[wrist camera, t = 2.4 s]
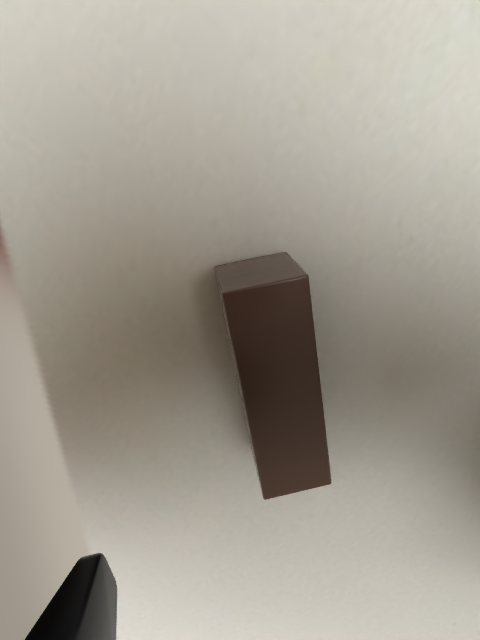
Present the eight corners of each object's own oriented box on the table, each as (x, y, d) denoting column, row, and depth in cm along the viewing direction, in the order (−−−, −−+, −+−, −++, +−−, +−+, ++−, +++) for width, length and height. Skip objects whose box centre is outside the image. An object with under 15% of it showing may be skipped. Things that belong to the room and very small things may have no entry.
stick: (310, 435, 16) (332, 484, 13) (251, 449, 15) (263, 500, 13) (286, 251, 13) (308, 274, 10) (213, 266, 13) (221, 293, 10)
